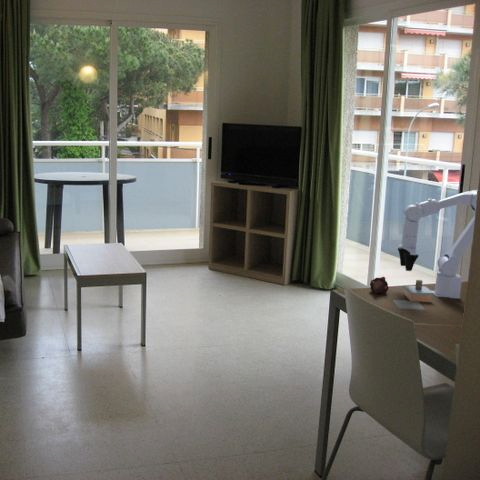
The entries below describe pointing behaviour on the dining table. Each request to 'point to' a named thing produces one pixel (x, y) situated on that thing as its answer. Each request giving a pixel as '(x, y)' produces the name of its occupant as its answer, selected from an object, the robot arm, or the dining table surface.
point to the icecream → (379, 285)
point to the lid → (418, 289)
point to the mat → (408, 304)
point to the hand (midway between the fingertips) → (405, 268)
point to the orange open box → (418, 297)
